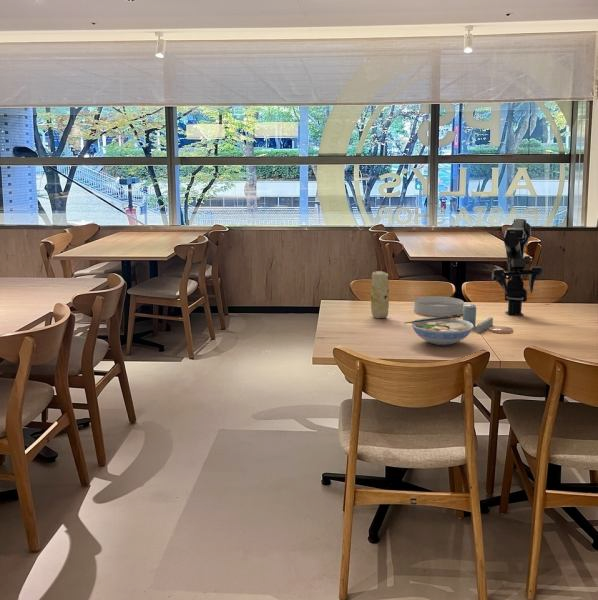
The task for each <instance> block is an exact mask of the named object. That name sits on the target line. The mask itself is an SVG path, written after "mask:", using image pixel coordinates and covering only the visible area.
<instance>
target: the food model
mask: <svg viewBox="0 0 598 600" xmlns="http://www.w3.org/2000/svg"><path fill="white" fill-rule="evenodd" d="M370 283H371V285H370V309H371V315H372V317H373V318H375V319H380V318H383V319H384V318H385V319H386V318H388V315H389V307H390V275H389V274H388V273H387V272H385V271H381V270H377V271H373V272H372V273H371V282H370Z"/></svg>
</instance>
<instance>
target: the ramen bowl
mask: <svg viewBox="0 0 598 600" xmlns="http://www.w3.org/2000/svg"><path fill="white" fill-rule="evenodd" d="M461 317H462V316H461V315H457V314H456V315H450V316H430V317H421V318H417V319H413V320H411V321H407V322H405V321H404V324H411V327H412V329H413V330H414V332H415V334H416V335H417V336H418V338H419V337H420V338H421V340H424V341H426V342H428V343H431V344H432V345H434V344H435V346H440V345H443V347H444V346H445V345H446V346H450V345H452V344H456V343H459V342H461V341H462V340H464V339H466V338H467V337H468V335H470V333H471V332H472V331H473V330H474V328H473V327H474V326H473V324H472V323H470V322H468V321H465V320H463V319H460V318H461Z"/></svg>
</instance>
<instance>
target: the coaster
mask: <svg viewBox="0 0 598 600" xmlns="http://www.w3.org/2000/svg"><path fill="white" fill-rule="evenodd" d="M488 331H489V332H490V333H494V332H495V333H494V334H503V333H504V334H511V333H510V332H512V331H513V332H514V329H513V328H512V327H510V326H509V327H508V326H505V325H504V326H503V325H495V326H493V325H492V326H490V327H488ZM513 332H512V333H513Z"/></svg>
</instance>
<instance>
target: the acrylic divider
mask: <svg viewBox="0 0 598 600" xmlns="http://www.w3.org/2000/svg"><path fill="white" fill-rule="evenodd" d="M493 321H494V317H488V318H486V319H485V320H482V322H480V323H478V324H477V325H476V333H477V334H480V333H482V332H484V331H485V330H487V329H489V328H490V327H493V323H494V322H493Z"/></svg>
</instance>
